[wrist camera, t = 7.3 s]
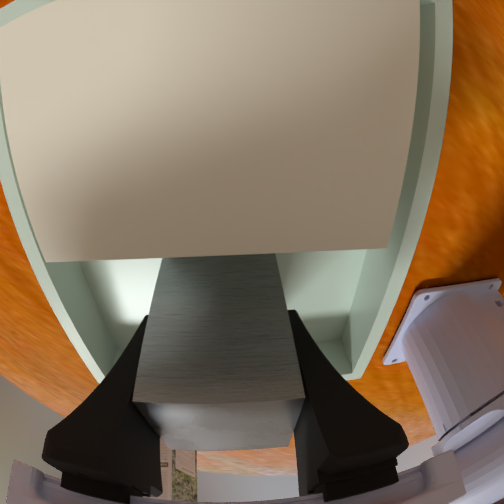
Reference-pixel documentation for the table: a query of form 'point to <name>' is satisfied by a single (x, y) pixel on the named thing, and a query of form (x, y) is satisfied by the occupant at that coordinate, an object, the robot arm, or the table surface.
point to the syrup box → (178, 474)
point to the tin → (219, 356)
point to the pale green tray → (290, 264)
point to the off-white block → (210, 124)
